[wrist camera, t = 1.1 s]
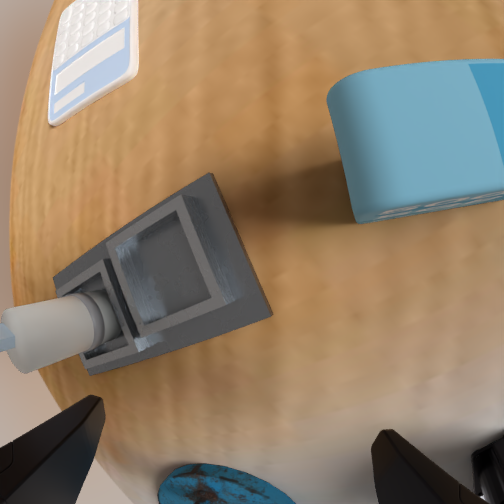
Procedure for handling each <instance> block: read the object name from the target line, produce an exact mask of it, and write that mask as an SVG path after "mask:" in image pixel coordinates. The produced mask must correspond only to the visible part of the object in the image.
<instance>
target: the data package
mask: <svg viewBox="0 0 504 504" xmlns="http://www.w3.org/2000/svg"><path fill="white" fill-rule="evenodd" d="M327 105H328V108H329V112H330V116H331V119H332V123H333V127H334V131H335V135H336V139H337V143H338V147H339V151H340V155H341V159H342V164H343V168H344V172H345V177H346V181H347V186H348V191H349V196H350V201H351V206H352V210H353V214H354V217H355V220H356V222H357V223H358V224H364V223H371V222H377V221H383V220H389V219H394V218H400V217H406V216H412V215H417V214H423V213H429V212H435V211H440V210H446V209H452V208H458V207H464V206H470V205H476V204H481V203H487V202H493V201H499V200H504V59H464V60H446V61H433V62H422V63H413V64H404V65H396V66H389V67H382V68H375V69H369V70H364V71H361V72H357V73H354V74H352V75H349V76H347V77H345V78H343V79H342V80H340V81H339V82H337V83H336V84H335V85H334V86H333V87H332V88H331V89H330V91H329V92H328V95H327Z"/></svg>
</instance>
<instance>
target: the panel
mask: <svg viewBox="0 0 504 504" xmlns="http://www.w3.org/2000/svg"><path fill="white" fill-rule="evenodd" d="M53 280H54V283H55V287H56V294H57V297H58V298H61V297H65V296H66V295H70V294H75V293H80V292H81V293H85V292H90V291H95V290H104V291H107V293H108V295H109V298H110V301H111V303H112V306H113V309H114V311H115V314H116V316H117V319H118V321H119V324H120V326H121V328H122V329H121V332H120V334H119V336H118V337H117V338H116V339H114V340H112V341H109V342H107V343H104V344H102V345H100V346H99V347H97V348H95V349H92V350H90V351H87V352H81V353H79V356H80V358H81V361H82V363H83V365H84V368H85V369H87V371H88V373H89V375H90V376H91V375H94V374H98V373H102V372H105V371H109V370H112V369H116V368H119V367H123V366H126V365H129V364H133V363H136V362H139V361H143V360H146V359H149V358H152V357H155V356H159V355H162V354H165V353H168V352H171V351H174V350H177V349H180V348H183V347H186V346H190V345H192V344H195V343H198V342H201V341H204V340H207V339H210V338H213V337H216V336H219V335H222V334H224V333H227V332H230V331H233V330H236V329H238V328H241V327H244V326H247V325H249V324H252V323H255V322H258V321H260V320H263V319H266V318H268V317H271V316H272V315H273V312H272V310H271V307H270V305H269V303H268V301H267V298H266V296H265V294H264V291H263V289H262V287H261V284H260V282H259V280H258V277H257V275H256V273H255V271H254V268H253V266H252V264H251V261H250V259H249V257H248V254H247V252H246V250H245V247H244V245H243V243H242V240H241V238H240V236H239V233H238V231H237V229H236V226H235V224H234V222H233V219H232V217H231V215H230V212H229V210H228V208H227V205H226V203H225V201H224V198H223V196H222V194H221V191H220V189H219V187H218V184H217V182H216V180H215V177H214V175H213V174H212V173H208V174H206V175H204V176H203V177H201V178H199V179H197V180H196V181H194V182H192V183H191V184H189V185H188V186H186V187H184V188H183V189H181V190H179V191H178V192H176V193H174V194H173V195H171V196H170V197H168V198H166V199H165V200H163V201H162V202H160V203H159V204H157V205H155V206H154V207H152V208H151V209H149V210H148V211H146V212H145V213H143V214H142V215H140V216H139V217H137V218H136V219H134V220H133V221H131V222H130V223H128V224H127V225H125V226H124V227H122V228H121V229H119V230H118V231H116V232H115V233H113V234H112V235H110V236H109V237H108V238H106V239H105V240H103V241H102V242H100V243H99V244H98V245H96V246H95V247H93V248H92V249H91V250H89V251H88V252H86V253H85V254H84V255H82V256H81V257H80V258H78V259H77V260H75V261H74V262H73V263H71V264H70V265H69V266H67V267H66V268H65V269H63V270H62V271H61V272H59V273H58V274H57V275H55V276H54V277H53Z"/></svg>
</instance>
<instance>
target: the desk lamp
mask: <svg viewBox="0 0 504 504" xmlns="http://www.w3.org/2000/svg"><path fill="white" fill-rule="evenodd" d="M158 501H159V504H296V503H295V502H293V501H292V500H291V499H290V498H289V497H288V496H287V495H286V494H285V493H283V492H282V491H280V490H279V489H277V488H276V487H274V486H272V485H271V484H269V483H268V482H266V481H264V480H261V479H259V478H257V477H254V476H252V475H250V474H248V473H245V472H242V471H238V470H235V469H232V468H228V467H225V466H218V465H211V464H191V465H186V466H183V467H180V468H177V469H175V470H174V471H173V472H172V473H171V474H170V475H169V476H168V477H167V478H166V479H165V481H164V482H163V483H162V484H161V485H160V488H159V491H158Z"/></svg>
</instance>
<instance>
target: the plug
mask: <svg viewBox="0 0 504 504" xmlns="http://www.w3.org/2000/svg"><path fill="white" fill-rule="evenodd" d="M121 329H122V328H121V326H120V324H119V321H118V319H117V316H116V314H115V311H114V309H113V306H112V303H111V301H110V298H109V295H108V293H107V291H104V290H95V291H90V292H85V293H81V292H80V293H75V294H70V295H66V296H65V297H61V298H57V299H52V300H47V301H42V302H37V303H33V304H28V305H23V306H18V307H13V308H9V309H6V310H4V312H3V314H2V318H1V323H0V352H1V351H5V350H6V351H7V353H8V355H9V357H10V359H11V361H12V363H13V364H14V365H15V366H16V368H17V369H18V370H19V371H20V372H22V373H29V372H32V371H34V370H37V369H40V368H42V367H45V366H48V365H50V364H53V363H55V362H58V361H61V360H63V359H66V358H68V357H71V356H74V355H76V354H79V353H81V352H87V351H90V350H92V349H95V348H97V347H99V346H100V345H102V344H104V343H107V342H109V341H112V340H114V339H116V338H117V337H118V336H119V334H120V332H121Z"/></svg>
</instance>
